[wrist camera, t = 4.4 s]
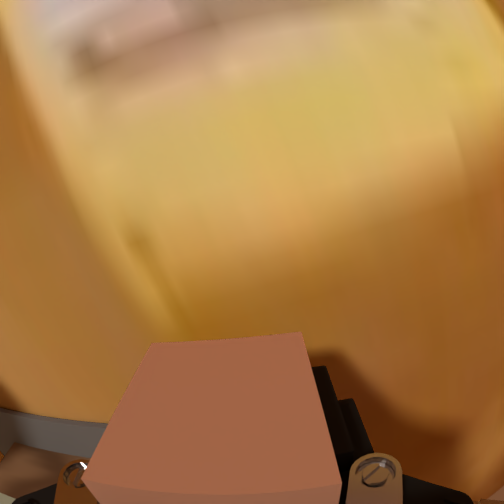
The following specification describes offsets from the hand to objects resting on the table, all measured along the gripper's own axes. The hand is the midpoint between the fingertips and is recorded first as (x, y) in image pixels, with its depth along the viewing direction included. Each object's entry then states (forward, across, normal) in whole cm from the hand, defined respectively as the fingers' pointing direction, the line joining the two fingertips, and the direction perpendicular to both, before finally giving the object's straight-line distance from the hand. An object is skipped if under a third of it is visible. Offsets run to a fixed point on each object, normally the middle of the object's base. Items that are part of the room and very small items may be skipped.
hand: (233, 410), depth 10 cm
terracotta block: (+1, 0, 0) cm, 1 cm away
